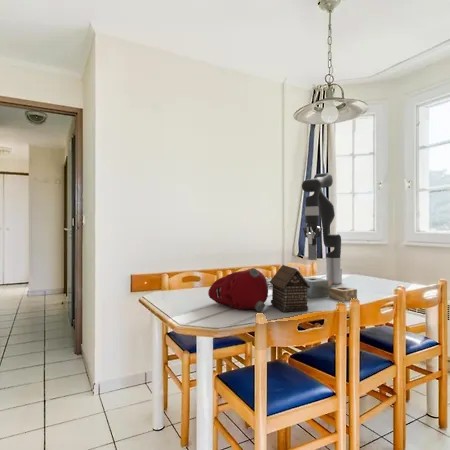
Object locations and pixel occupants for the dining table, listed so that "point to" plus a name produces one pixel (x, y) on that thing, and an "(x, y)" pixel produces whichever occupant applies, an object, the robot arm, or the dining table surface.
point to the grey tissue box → (318, 287)
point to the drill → (311, 249)
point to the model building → (289, 290)
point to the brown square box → (343, 293)
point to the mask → (241, 290)
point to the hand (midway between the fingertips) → (312, 245)
